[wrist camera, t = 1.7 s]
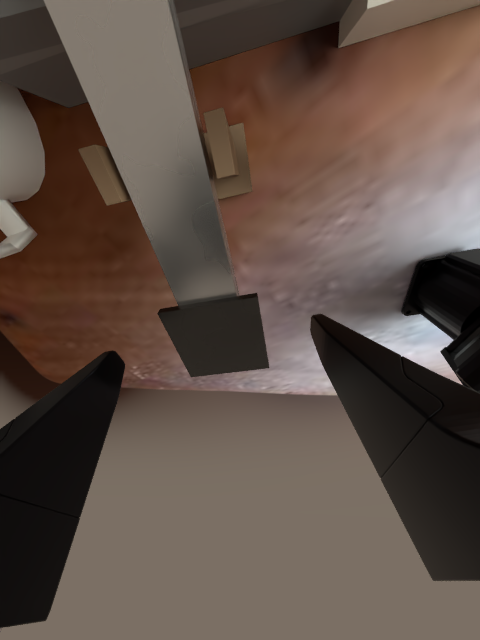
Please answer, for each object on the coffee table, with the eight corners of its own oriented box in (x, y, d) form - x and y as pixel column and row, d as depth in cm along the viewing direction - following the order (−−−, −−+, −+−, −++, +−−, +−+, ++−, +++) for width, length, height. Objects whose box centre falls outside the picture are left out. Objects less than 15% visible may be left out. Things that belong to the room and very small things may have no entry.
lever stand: (252, 190, 16) (262, 209, 7) (179, 207, 17) (106, 242, 8) (243, 124, 14) (242, 31, 5) (159, 148, 15) (26, 103, 6)
